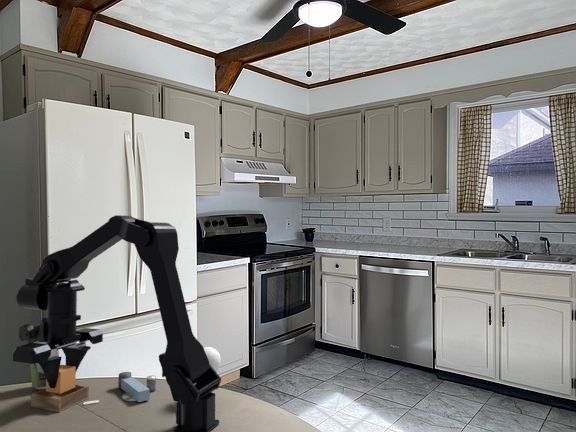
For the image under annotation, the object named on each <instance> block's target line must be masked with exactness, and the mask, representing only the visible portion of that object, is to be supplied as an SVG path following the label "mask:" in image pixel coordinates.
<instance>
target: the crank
mask: <svg viewBox="0 0 576 432" xmlns="http://www.w3.org/2000/svg"><path fill="white" fill-rule="evenodd" d="M117 378H118V381H117V384H118V385H117V386H118V388H119V389H121V390H123V391H124V392H125V393H128V394H129V397H132V398H134V399H135V400H137V401H136V402H138V403H142V402H145V401H149V400H150V398H151V392H150V389H149V388H147V385H144V384H142V383H141V382H140V381H138V380H137V379H135V378H134V377H132V372H131V371H122V372H119V373H118V377H117Z"/></svg>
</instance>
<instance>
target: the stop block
mask: <svg viewBox="0 0 576 432" xmlns="http://www.w3.org/2000/svg"><path fill="white" fill-rule="evenodd" d="M76 373H77V371H76V366H69V365H66V364H60V368H59V373H58V379H57V383H56V386H55V388H50V387H49V384H48V382H47V379H46V388H45V389H46V391H47V392H53V393H59V394H61V393H63V392H66V391H68V390H70V389H73V388H75V384H76V381H77V380H76V377H77V375H76Z"/></svg>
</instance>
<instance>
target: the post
mask: <svg viewBox="0 0 576 432" xmlns="http://www.w3.org/2000/svg"><path fill="white" fill-rule="evenodd" d="M156 379H157V377H156V375H148V376H146V387H147V388H149V389H150V393H154V392H155V391H156V390H157V389H156V386H157V383H156V382H157V381H156ZM153 391H154V392H153Z"/></svg>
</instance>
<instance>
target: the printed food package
mask: <svg viewBox="0 0 576 432" xmlns="http://www.w3.org/2000/svg"><path fill="white" fill-rule="evenodd" d="M33 343H39V344H47V342H39V341H37V342H33ZM55 346H57V345H55ZM59 353H60V352H59V350H57V356H59V357H60V354H59ZM29 365H30V377H31V387H32V388H34V389H35V390H43V389H46V377H45V374H44V372H43V370H42V368H41V366H40V365H39V364H38V363H34V364H30V363H29Z"/></svg>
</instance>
